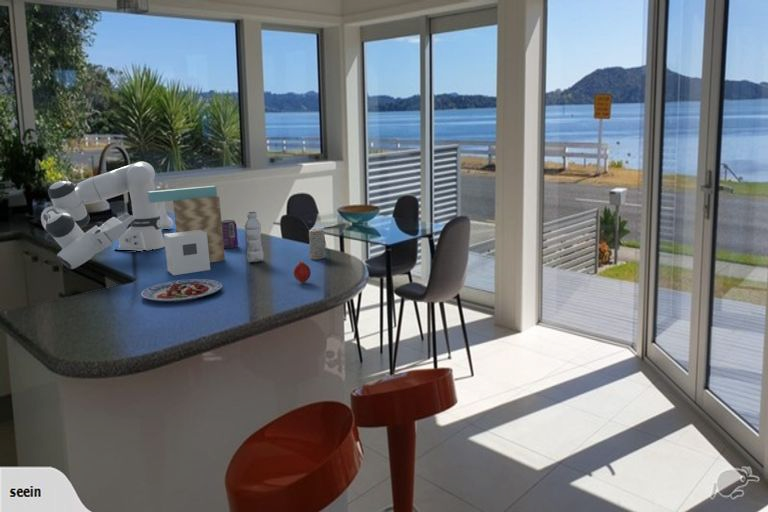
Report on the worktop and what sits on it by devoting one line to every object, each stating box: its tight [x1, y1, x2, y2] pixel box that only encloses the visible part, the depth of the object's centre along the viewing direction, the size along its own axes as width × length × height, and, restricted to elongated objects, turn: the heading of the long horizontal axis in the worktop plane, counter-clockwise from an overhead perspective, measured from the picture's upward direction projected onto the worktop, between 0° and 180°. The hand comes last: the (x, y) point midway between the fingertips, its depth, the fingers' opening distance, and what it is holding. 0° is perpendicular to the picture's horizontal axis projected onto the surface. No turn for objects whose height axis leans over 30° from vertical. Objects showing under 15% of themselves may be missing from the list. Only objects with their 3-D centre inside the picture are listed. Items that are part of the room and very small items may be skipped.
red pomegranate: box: [293, 260, 311, 284], centre depth 228 cm, size 6×6×8 cm
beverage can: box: [221, 219, 239, 249], centre depth 297 cm, size 7×7×12 cm
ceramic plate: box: [141, 278, 223, 303], centre depth 220 cm, size 26×26×3 cm
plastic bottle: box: [244, 211, 265, 263], centre depth 263 cm, size 6×7×20 cm
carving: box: [308, 228, 326, 261], centre depth 266 cm, size 6×8×12 cm
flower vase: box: [154, 181, 178, 230], centre depth 351 cm, size 13×18×25 cm
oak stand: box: [172, 195, 226, 263], centre depth 269 cm, size 16×10×26 cm, turn 121°
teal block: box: [148, 185, 218, 203], centre depth 263 cm, size 26×4×4 cm, turn 121°
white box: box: [163, 230, 211, 276], centre depth 254 cm, size 14×9×14 cm, turn 121°
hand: (131, 215), depth 254 cm, fingers open, 8 cm apart
